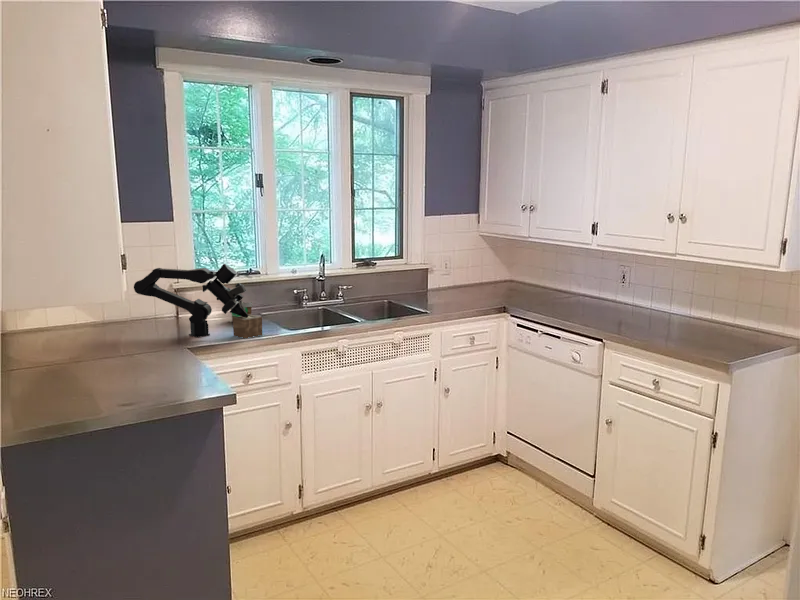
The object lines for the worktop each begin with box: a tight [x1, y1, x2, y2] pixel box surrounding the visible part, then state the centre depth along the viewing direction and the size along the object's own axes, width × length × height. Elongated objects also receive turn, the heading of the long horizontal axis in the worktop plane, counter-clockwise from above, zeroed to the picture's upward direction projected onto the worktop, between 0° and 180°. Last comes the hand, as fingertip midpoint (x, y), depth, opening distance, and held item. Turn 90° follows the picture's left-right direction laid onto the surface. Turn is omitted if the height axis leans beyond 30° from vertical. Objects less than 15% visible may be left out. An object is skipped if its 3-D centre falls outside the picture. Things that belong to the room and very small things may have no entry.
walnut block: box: [232, 313, 263, 339], centre depth 262 cm, size 9×8×8 cm
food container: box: [231, 301, 253, 322], centre depth 288 cm, size 12×6×10 cm, turn 62°
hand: (247, 316), depth 262 cm, fingers closed, pressing on peg
